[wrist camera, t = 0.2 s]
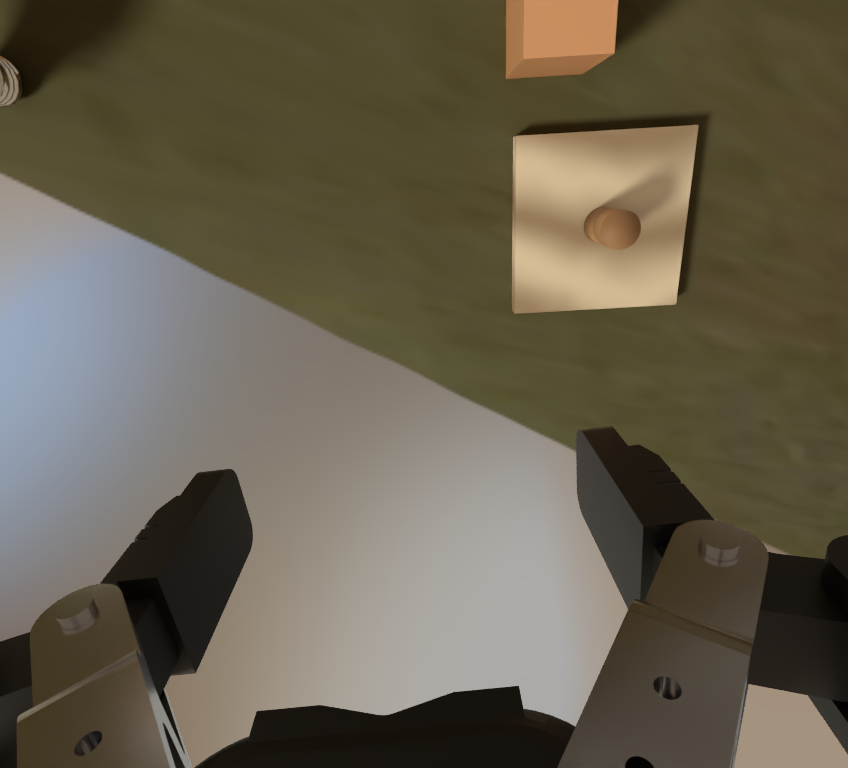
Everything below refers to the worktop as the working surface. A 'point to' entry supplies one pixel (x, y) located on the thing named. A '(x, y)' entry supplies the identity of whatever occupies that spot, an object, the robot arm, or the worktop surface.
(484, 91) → the worktop surface
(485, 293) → the worktop surface
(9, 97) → the light bulb
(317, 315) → the worktop surface
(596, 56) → the salmon cube
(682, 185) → the post base
